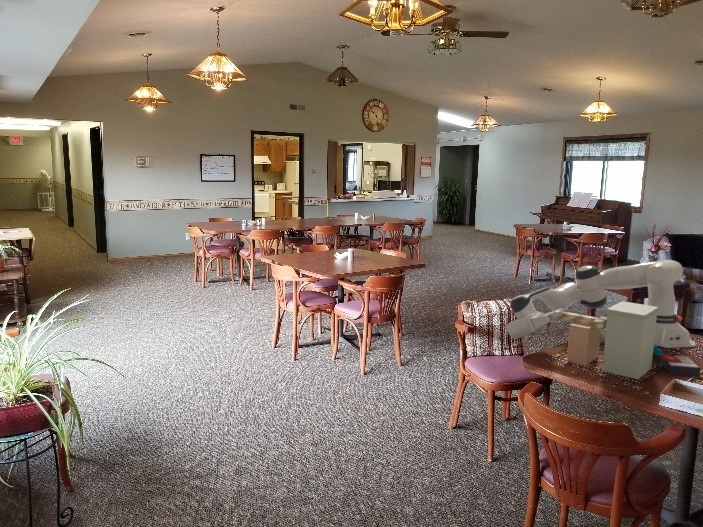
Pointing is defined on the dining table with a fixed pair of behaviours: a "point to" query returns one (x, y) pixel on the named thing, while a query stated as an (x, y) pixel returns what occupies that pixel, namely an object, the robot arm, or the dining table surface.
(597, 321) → the wooden key
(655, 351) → the gear
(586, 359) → the light brown box
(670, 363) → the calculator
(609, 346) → the tall pale green box
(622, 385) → the dining table surface
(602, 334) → the ceramic sculpture
